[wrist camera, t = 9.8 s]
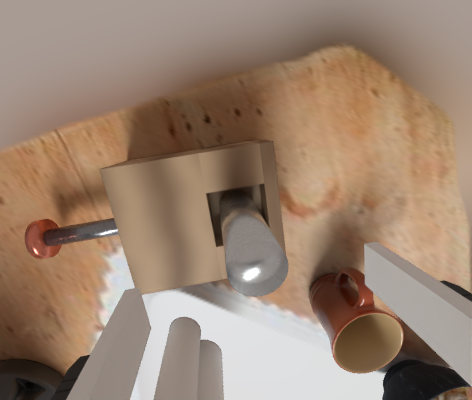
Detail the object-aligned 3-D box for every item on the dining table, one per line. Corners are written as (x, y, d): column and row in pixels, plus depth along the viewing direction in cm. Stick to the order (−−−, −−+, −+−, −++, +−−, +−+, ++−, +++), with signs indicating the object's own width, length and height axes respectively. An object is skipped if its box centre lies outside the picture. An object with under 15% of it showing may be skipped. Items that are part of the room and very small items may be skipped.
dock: (153, 259, 35) (137, 295, 27) (127, 160, 31) (99, 169, 24) (271, 238, 36) (287, 267, 28) (258, 139, 32) (273, 141, 24)
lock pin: (58, 248, 32) (34, 266, 27) (45, 215, 30) (18, 229, 26) (165, 229, 32) (158, 243, 28) (157, 196, 31) (148, 206, 27)
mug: (354, 311, 41) (400, 368, 31) (302, 318, 40) (331, 378, 30) (358, 243, 37) (411, 282, 28) (301, 249, 37) (334, 292, 27)
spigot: (222, 225, 30) (231, 301, 16) (216, 193, 29) (221, 246, 15) (255, 219, 30) (291, 290, 17) (250, 187, 29) (285, 235, 16)
